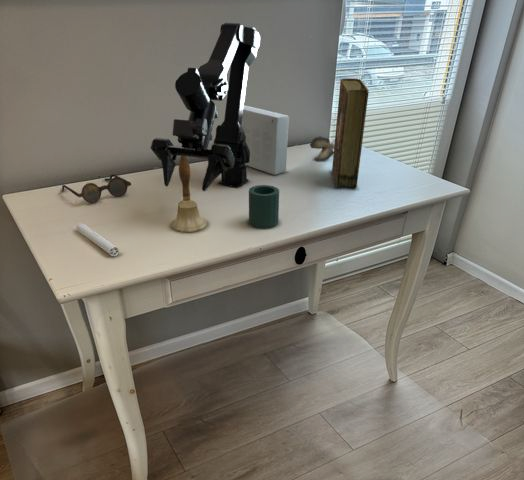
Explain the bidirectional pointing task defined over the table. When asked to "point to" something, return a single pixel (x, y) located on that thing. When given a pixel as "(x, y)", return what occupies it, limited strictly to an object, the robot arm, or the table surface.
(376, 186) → the table surface
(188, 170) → the hand bell
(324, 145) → the open clam shell
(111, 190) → the eyeglasses
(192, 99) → the robot arm
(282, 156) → the skincare box
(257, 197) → the jar
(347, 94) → the book
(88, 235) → the white cylindrical rod
